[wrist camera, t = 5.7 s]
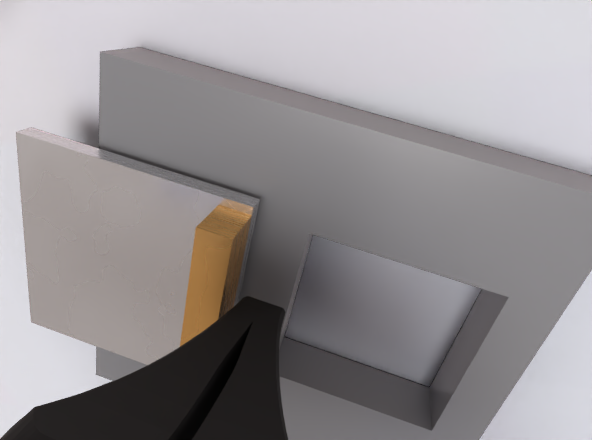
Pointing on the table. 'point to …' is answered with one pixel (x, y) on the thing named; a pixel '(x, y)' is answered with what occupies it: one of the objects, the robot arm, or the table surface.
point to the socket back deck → (224, 155)
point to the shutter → (127, 247)
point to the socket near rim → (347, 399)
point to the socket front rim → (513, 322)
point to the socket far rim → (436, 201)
